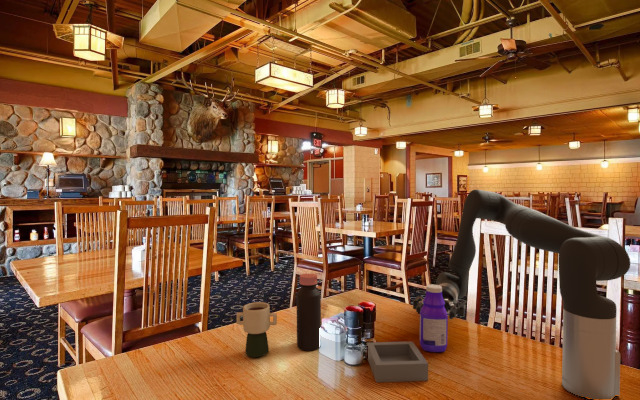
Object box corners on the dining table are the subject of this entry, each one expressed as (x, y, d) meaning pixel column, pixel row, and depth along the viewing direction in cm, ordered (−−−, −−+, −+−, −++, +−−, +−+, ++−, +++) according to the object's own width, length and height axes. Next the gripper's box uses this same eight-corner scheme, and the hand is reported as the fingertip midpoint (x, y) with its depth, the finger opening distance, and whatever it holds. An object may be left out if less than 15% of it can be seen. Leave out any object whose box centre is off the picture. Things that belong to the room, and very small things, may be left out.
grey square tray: (412, 356, 96) (412, 341, 95) (428, 380, 84) (428, 363, 83) (367, 357, 95) (367, 342, 95) (376, 382, 83) (376, 365, 83)
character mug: (279, 348, 101) (279, 302, 101) (274, 360, 94) (274, 311, 93) (240, 347, 102) (240, 301, 101) (233, 359, 95) (232, 310, 94)
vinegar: (321, 351, 99) (320, 278, 98) (296, 351, 99) (295, 278, 98) (321, 340, 106) (320, 272, 105) (297, 341, 106) (296, 272, 105)
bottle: (444, 344, 102) (444, 283, 102) (449, 354, 97) (449, 289, 96) (418, 344, 103) (418, 283, 102) (421, 353, 97) (421, 288, 97)
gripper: (421, 283, 118) (408, 296, 104) (468, 288, 112) (462, 303, 97) (421, 305, 119) (408, 322, 104) (468, 312, 112) (462, 331, 98)
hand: (434, 313), depth 101 cm, fingers open, 8 cm apart
